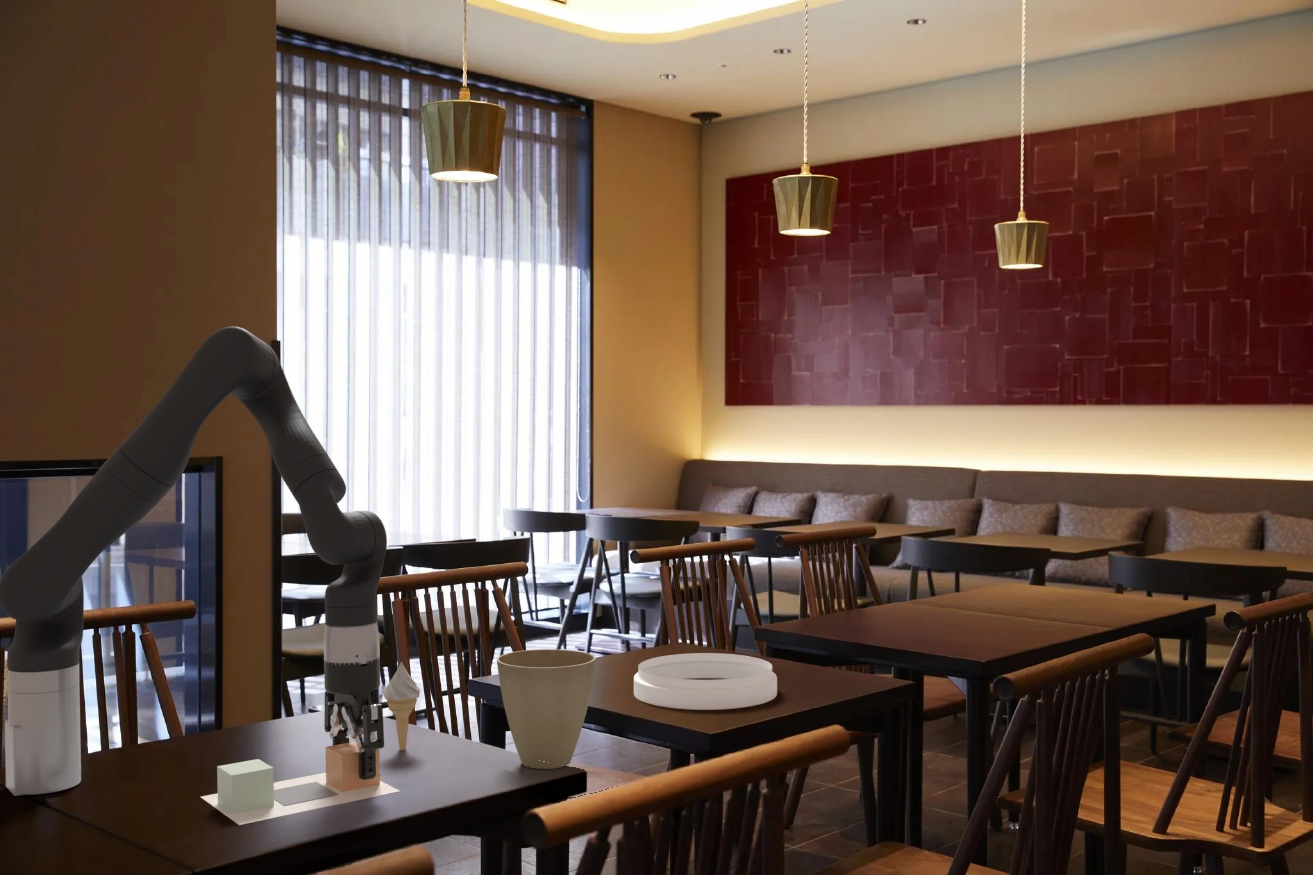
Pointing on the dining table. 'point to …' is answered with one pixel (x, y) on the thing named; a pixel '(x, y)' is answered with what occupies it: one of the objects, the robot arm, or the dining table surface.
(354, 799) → the baseplate
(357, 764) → the terracotta brick
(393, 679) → the ice cream cone
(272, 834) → the dining table surface
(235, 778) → the sage brick
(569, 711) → the plant pot
